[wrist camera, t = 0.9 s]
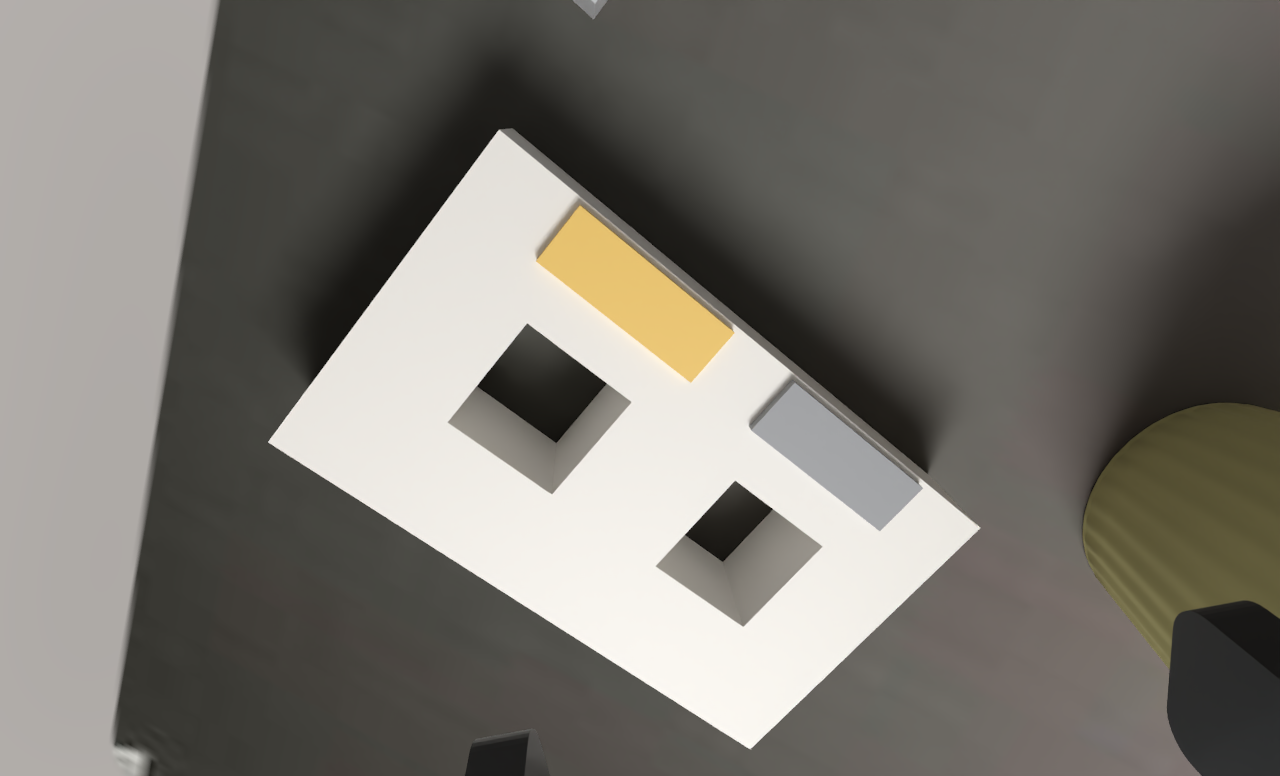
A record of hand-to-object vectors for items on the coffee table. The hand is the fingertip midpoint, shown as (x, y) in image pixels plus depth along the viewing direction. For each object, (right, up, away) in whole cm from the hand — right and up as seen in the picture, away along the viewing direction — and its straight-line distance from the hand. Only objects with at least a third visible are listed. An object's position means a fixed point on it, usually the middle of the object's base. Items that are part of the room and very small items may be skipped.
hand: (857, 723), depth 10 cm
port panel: (-3, +2, +25) cm, 25 cm away
